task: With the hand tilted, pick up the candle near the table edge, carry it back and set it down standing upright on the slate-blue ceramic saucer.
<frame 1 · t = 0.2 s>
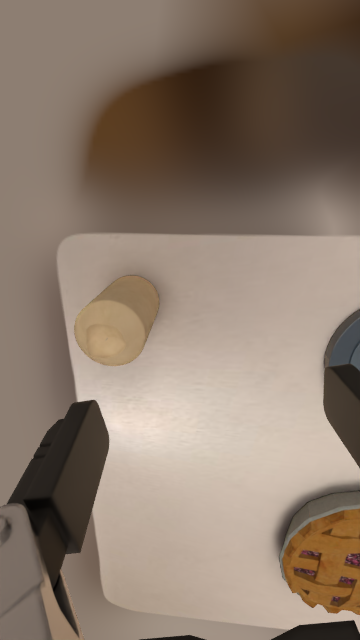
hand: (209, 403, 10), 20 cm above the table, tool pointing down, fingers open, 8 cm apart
pie: (351, 534, 41), on the table
candle: (133, 300, 30), on the table
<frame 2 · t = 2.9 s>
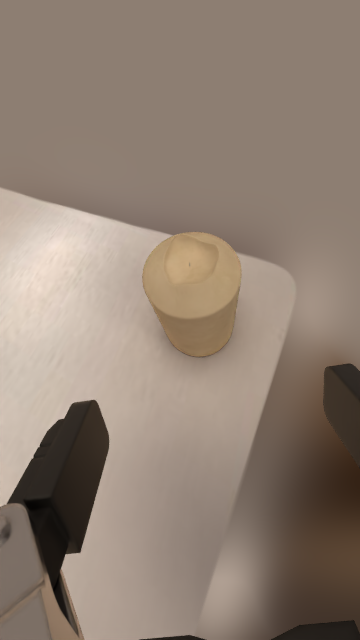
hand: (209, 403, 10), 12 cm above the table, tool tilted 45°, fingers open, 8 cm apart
candle: (199, 326, 24), on the table
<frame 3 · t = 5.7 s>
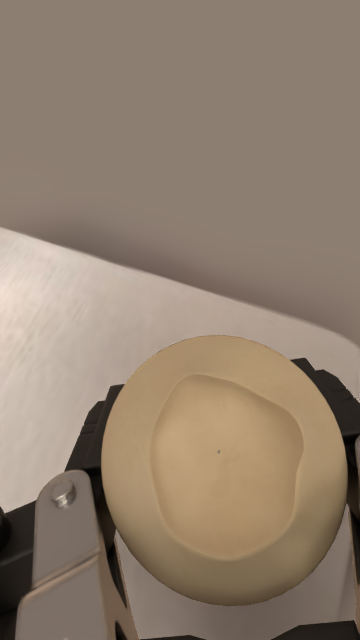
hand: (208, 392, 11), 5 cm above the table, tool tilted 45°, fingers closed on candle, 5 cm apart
candle: (216, 439, 15), on the table, touching gripper
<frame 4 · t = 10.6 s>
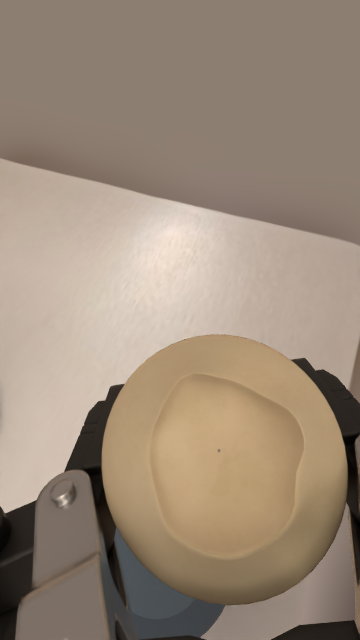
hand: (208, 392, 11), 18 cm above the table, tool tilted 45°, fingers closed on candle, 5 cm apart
candle: (216, 439, 15), point 13 cm above the table, touching gripper
saucer: (158, 540, 25), on the table
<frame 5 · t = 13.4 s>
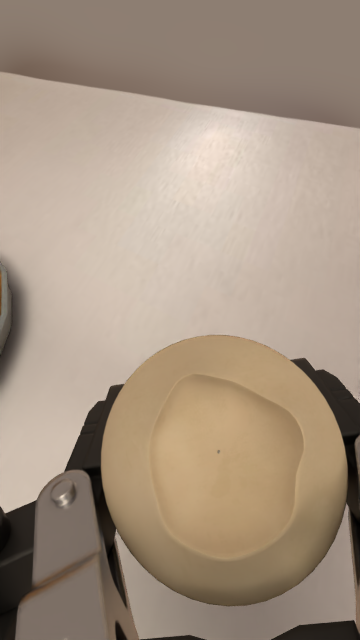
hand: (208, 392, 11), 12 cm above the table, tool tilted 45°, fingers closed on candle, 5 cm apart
candle: (216, 439, 15), point 8 cm above the table, touching gripper
when the fingers open (6 cm above the table, at t = 15.6 s): candle stays where it is, resting on saucer.
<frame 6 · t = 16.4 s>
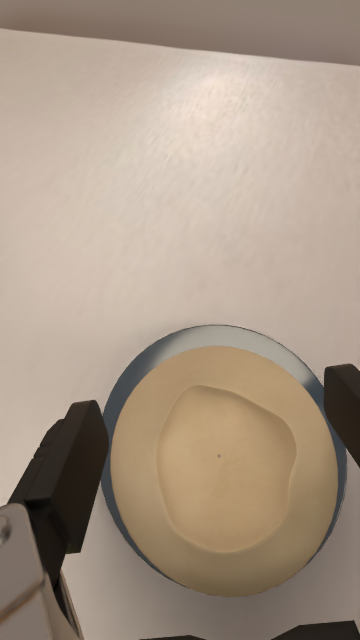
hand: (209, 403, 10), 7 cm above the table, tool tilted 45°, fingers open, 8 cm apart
candle: (217, 441, 15), point 1 cm above the table, touching saucer
saucer: (215, 438, 16), on the table
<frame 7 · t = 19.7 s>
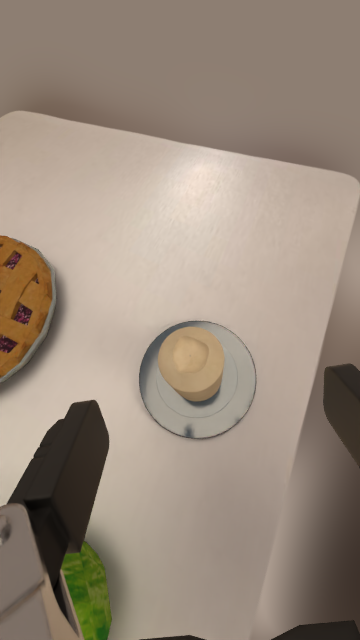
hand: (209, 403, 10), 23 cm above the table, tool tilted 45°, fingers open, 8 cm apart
candle: (196, 376, 32), point 1 cm above the table, touching saucer
lettuce: (38, 630, 26), on the table
saucer: (196, 377, 33), on the table
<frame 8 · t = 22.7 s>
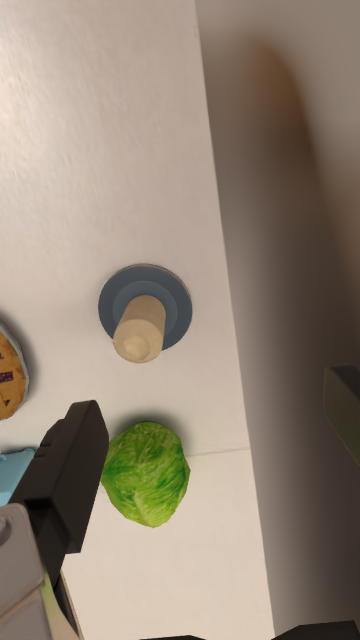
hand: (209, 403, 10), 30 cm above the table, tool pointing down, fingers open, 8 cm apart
teapot: (25, 466, 53), on the table
candle: (146, 312, 40), point 1 cm above the table, touching saucer
lettuce: (151, 450, 52), on the table
saucer: (146, 309, 41), on the table
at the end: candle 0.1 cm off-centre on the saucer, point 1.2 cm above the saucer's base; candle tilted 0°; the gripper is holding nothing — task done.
